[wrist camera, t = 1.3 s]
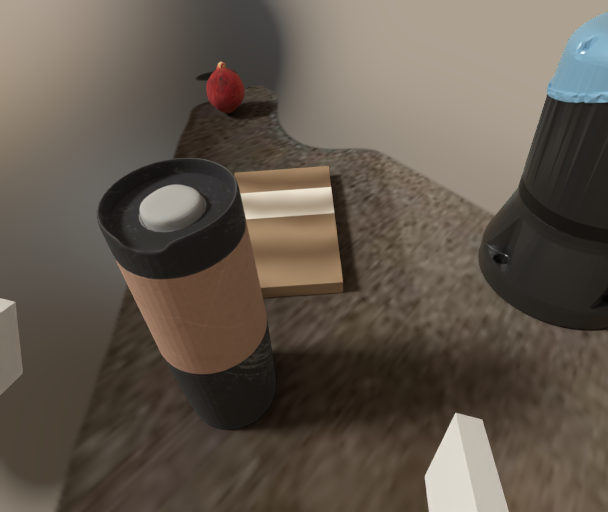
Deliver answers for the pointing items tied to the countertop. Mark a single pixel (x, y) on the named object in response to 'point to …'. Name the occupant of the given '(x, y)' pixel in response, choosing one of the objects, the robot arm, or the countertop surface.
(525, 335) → the countertop surface
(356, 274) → the countertop surface
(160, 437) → the countertop surface
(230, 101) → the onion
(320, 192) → the wooden cutting board
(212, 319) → the travel mug
